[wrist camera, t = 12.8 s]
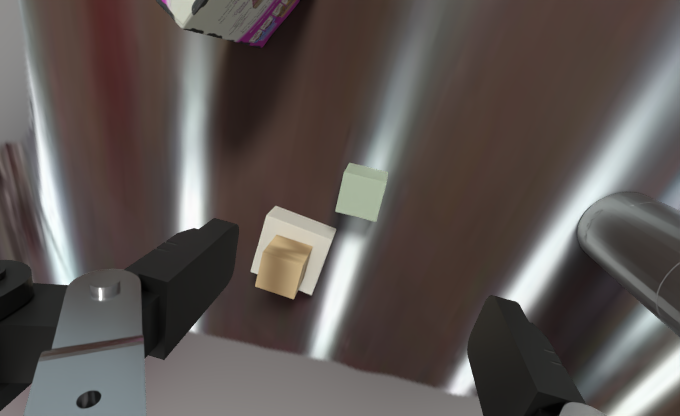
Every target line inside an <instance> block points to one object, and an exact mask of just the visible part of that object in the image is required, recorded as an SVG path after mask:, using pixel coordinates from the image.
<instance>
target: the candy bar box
mask: <svg viewBox="0 0 680 416" xmlns="http://www.w3.org/2000/svg"><path fill="white" fill-rule="evenodd" d="M156 1H157V3H158V4H159V5H160V6H161V7H162V8H163V9H164V10H165V11H166V12H167V13H168V14H169V15H170V17H171V18H172V19H173V20H174V21H175V22H176V23H177V24H178V25H179V26H180V27H181V28H182V29H184V30H188V31H193V32H196V33H201V34H205V35H209V36H213V37H217V38H221V39H225V40H230V41H233V42H238V43H242V44H245V45H249V46H253V47H257V48H262V47H263V46H264V45H265V43H266V42H267V41H268V40H269V38H270V37H271V36H272V35H273V33H274V32H275V31H276V30H277V29H278V27H279V26H280V25H281V24H282V23H283V21H284V20H285V19H286V18H287V16H288V15H289V14H290V13H291V12H292V10H293V9H294V8H295V7H296V6H297V4H298V3H299V2H300V1H301V0H156Z"/></svg>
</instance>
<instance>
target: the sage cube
mask: <svg viewBox="0 0 680 416" xmlns="http://www.w3.org/2000/svg"><path fill="white" fill-rule="evenodd" d="M387 175H388V172H385V171H381V170H377V169H373V168H369V167H365V166H361V165H357V164H353V163H349V165H348V166H347V168H346V170H345V171H344V175H343V179H342V184H341V188H340V193H339V197H338V202H337V206H336V211H335V212H339V213H343V214H347V215H351V216H355V217H359V218H363V219H366V220H370V221H374V222H376V220H377V216H378V213H379V209H380V205H381V202H382V198H383V194H384V191H385V187H386V183H387Z"/></svg>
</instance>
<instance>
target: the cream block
mask: <svg viewBox="0 0 680 416" xmlns="http://www.w3.org/2000/svg"><path fill="white" fill-rule="evenodd" d="M336 230H337V229H335V228H333V227H330V226H327V225H325V224H322V223H320V222H317V221H314V220H312V219H309V218H306V217H304V216H301V215H299V214H296V213H293V212H291V211H288V210H285V209H283V208H280V207H278V206H275V207H274V208H273V209H272V210H271V211H270V212H269V213H268V214H267V215H266V219H265V223H264V226H263V230H262V233H261V237H260V240H259V244H258V247H257V251H256V254H255V258H254V261H253V265H252V268H251V272H253V273H255V274H258V271H259V267H260V262H261V258H262V253H263V251H264V250H265V248H266V247H267V246H268V245H269V243H270V242H271V241H272V240H273V238H274V237H275V236H276V235H280V236H283V237H286V238H289V239H292V240H295V241H298V242H301V243H304V244H307V245H310V246H313V248H312V251H311V255H310V258H309V262H308V266H307V269H306V273H305V276H304V279H303V281H302V283H301V285H300V287H299V289H298V290H299V291H302V292H304V293H307V294H310V295H312V293H313V290H314V288H315V286H316V283H317V280H318V278H319V275H320V272H321V270H322V267H323V264H324V262H325V259H326V256H327V254H328V251H329V248H330V246H331V243H332V240H333V238H334V235H335V232H336Z"/></svg>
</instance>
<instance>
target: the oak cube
mask: <svg viewBox="0 0 680 416" xmlns="http://www.w3.org/2000/svg"><path fill="white" fill-rule="evenodd" d="M312 248H313V246H310V245H307V244H304V243H301V242H298V241H295V240H292V239H289V238H286V237H283V236H280V235H276V236H275V237H274V238H273V240H272V241H271V242H270V243H269V245H268V246H267V247H266V248H265V250H264V251H263V253H262V258H261V262H260V267H259V271H258V276H257V280H256V285H255V287H258V288H261V289H264V290H267V291H270V292H273V293H276V294H279V295H282V296H285V297H288V298H291V299H294V298H295V296H296V294H297V292H298V289H299V287H300V285H301V283H302V281H303V279H304V276H305V273H306V269H307V266H308V262H309V258H310V255H311V251H312Z"/></svg>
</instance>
